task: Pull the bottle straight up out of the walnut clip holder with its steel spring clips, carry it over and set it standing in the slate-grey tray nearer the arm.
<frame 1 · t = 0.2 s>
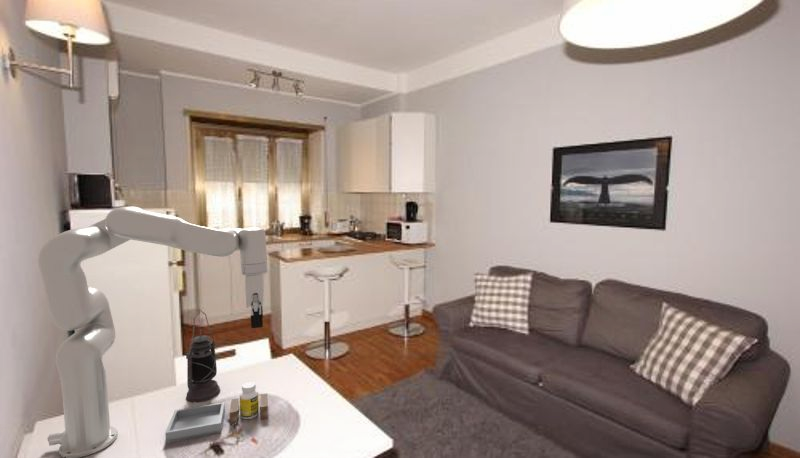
hand: (257, 322, 119), 29 cm above the table, tool pointing down, fingers open, 9 cm apart
clip holder: (249, 414, 120), on the table
tray: (197, 425, 114), on the table
supplement bottle: (249, 415, 120), on the table
lantern: (203, 394, 133), on the table
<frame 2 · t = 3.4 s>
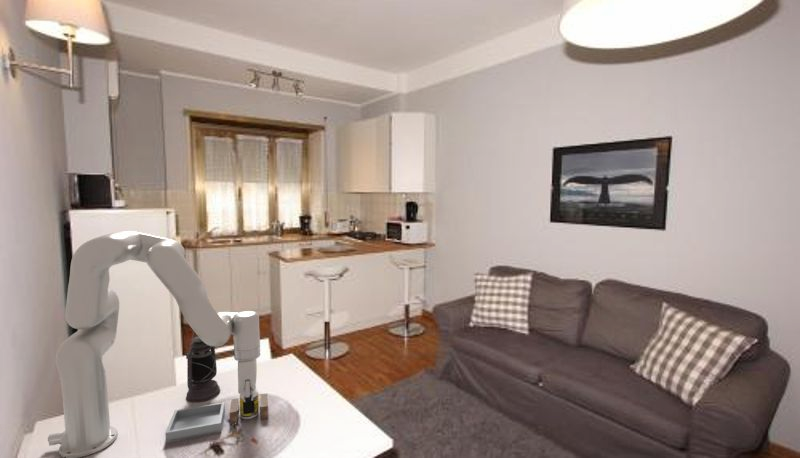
hand: (249, 407, 120), 3 cm above the table, tool pointing down, fingers closed on supplement bottle, 5 cm apart
supplement bottle: (249, 415, 120), on the table, touching gripper
everything else where it was.
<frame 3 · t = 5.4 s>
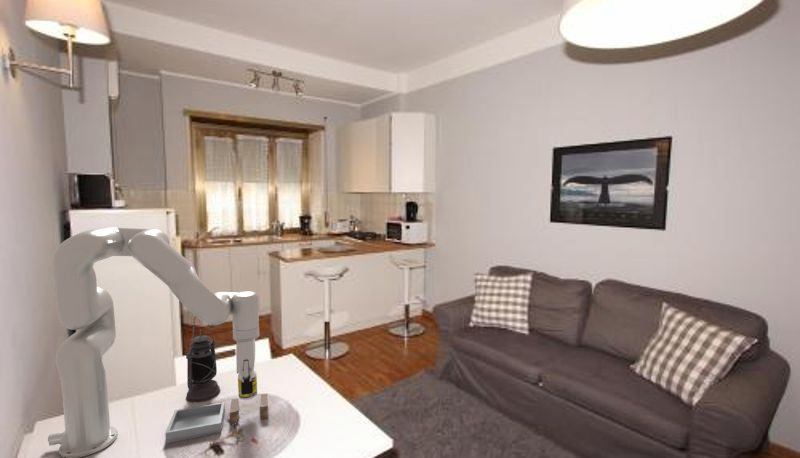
hand: (247, 388, 119), 9 cm above the table, tool pointing down, fingers closed on supplement bottle, 5 cm apart
supplement bottle: (248, 396, 120), point 6 cm above the table, touching gripper
everything else where it was.
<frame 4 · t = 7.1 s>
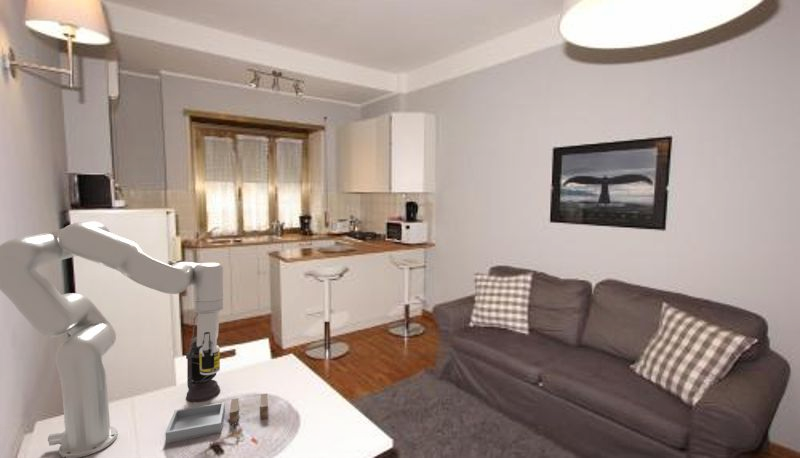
hand: (209, 363, 114), 19 cm above the table, tool pointing down, fingers closed on supplement bottle, 5 cm apart
supplement bottle: (210, 372, 115), point 16 cm above the table, touching gripper
everything else where it was.
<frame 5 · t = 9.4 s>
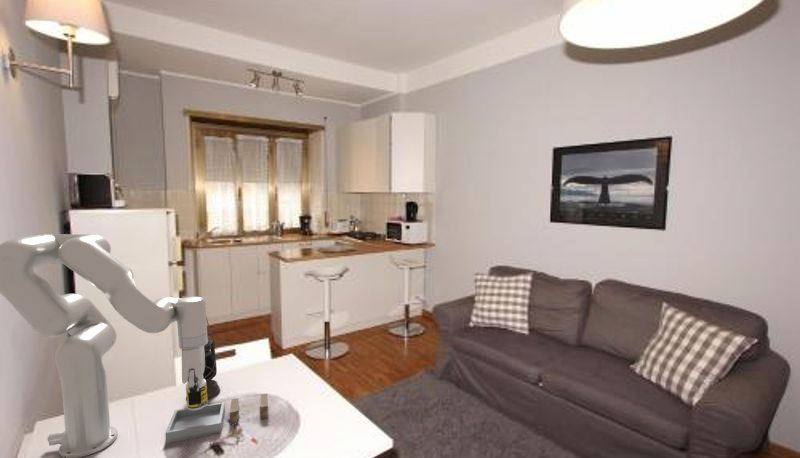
hand: (196, 398, 114), 9 cm above the table, tool pointing down, fingers closed on supplement bottle, 5 cm apart
supplement bottle: (198, 406, 114), point 6 cm above the table, touching gripper
everything else where it was.
when the fingers open (5 cm above the table, at t = 10.9 s): supplement bottle drops 2 cm, resting on tray.
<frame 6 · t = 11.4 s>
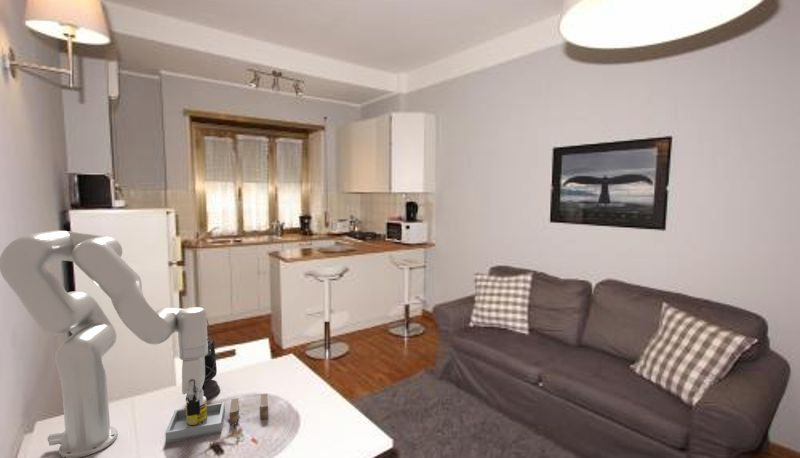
hand: (196, 405, 114), 6 cm above the table, tool pointing down, fingers open, 9 cm apart
supplement bottle: (197, 423, 114), point 1 cm above the table, touching tray
everything else where it was.
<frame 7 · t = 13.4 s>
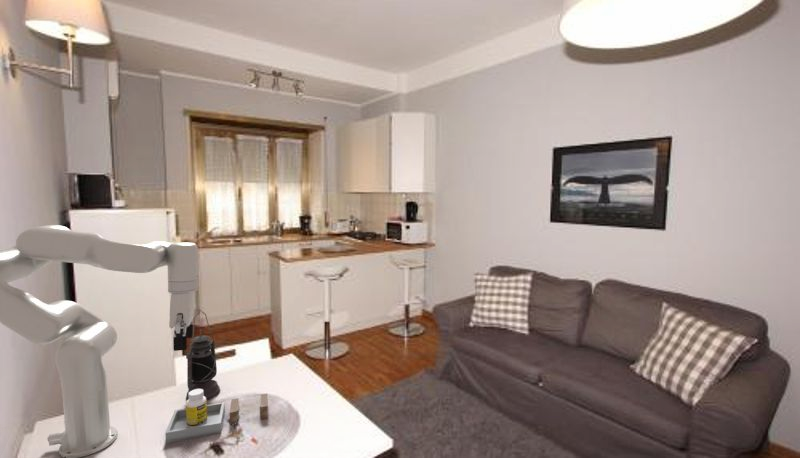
hand: (183, 343, 111), 26 cm above the table, tool pointing down, fingers open, 9 cm apart
nothing on the table moved.
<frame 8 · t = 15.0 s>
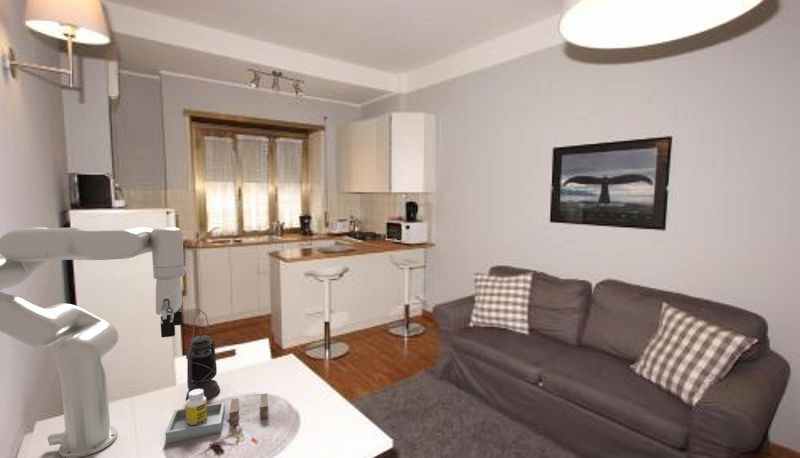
hand: (172, 330, 109), 30 cm above the table, tool pointing down, fingers open, 9 cm apart
nothing on the table moved.
at the end: supplement bottle inside the target area on the tray (0.0 cm from its centre), point 0.6 cm above the tray's base; supplement bottle tilted 0°; the gripper is holding nothing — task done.
